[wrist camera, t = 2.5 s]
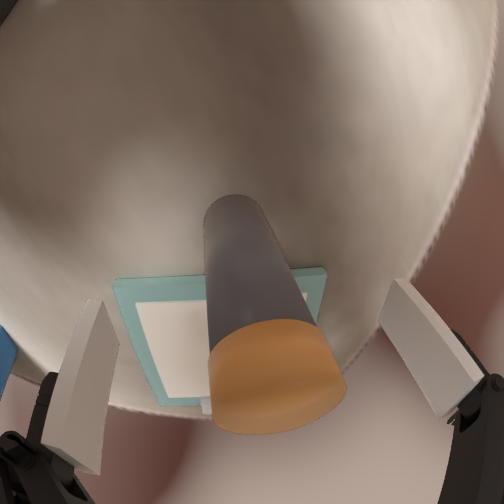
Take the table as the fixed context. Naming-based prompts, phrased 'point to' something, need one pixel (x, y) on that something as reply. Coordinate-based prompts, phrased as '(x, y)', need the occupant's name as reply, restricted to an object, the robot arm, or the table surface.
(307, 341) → the marker
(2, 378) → the water bottle
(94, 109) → the table surface
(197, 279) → the clipboard
